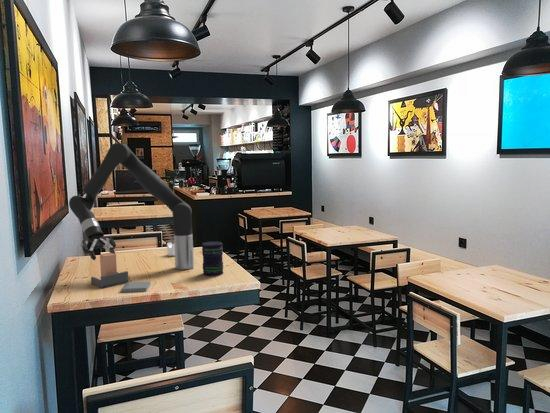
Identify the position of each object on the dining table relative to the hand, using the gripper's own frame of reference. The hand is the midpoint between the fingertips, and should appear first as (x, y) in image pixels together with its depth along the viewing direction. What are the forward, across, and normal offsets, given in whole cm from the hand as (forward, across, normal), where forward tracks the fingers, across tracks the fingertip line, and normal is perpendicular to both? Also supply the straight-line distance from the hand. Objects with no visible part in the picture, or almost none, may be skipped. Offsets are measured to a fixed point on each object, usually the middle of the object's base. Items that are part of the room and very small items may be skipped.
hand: (104, 257), depth 185 cm
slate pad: (+23, +4, -7) cm, 24 cm away
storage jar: (+27, +40, -11) cm, 50 cm away
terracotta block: (+10, 0, +4) cm, 11 cm away
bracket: (-9, +56, +25) cm, 62 cm away
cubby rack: (+11, 0, +5) cm, 12 cm away
